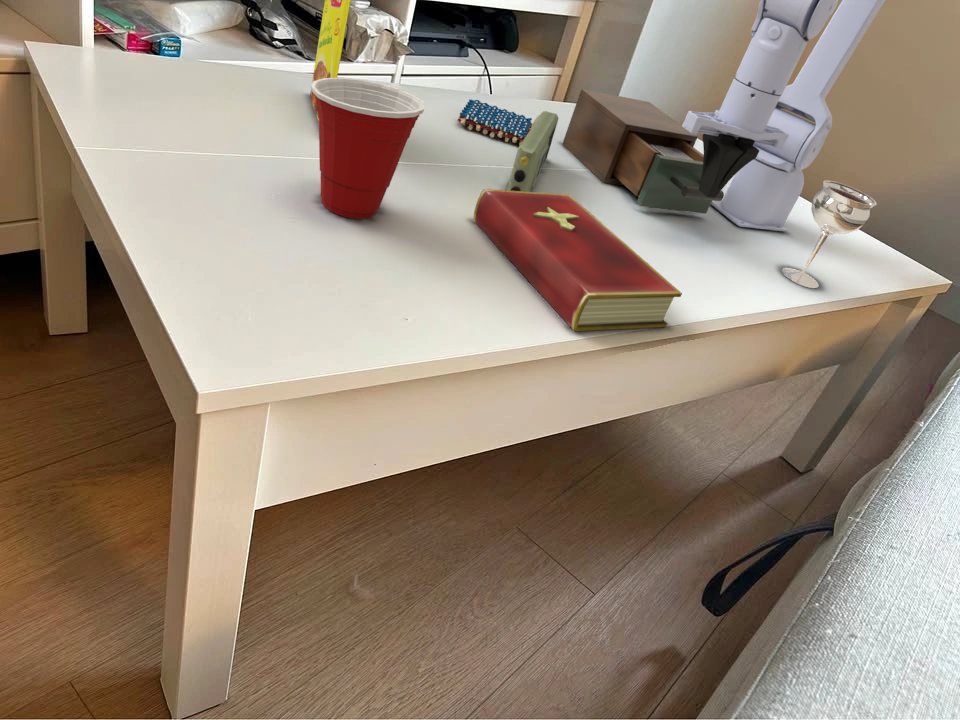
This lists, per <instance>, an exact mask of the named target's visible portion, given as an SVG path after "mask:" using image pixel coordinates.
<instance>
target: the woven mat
mask: <svg viewBox="0 0 960 720" xmlns="http://www.w3.org/2000/svg"><path fill="white" fill-rule="evenodd" d="M532 120H533V118H532V117H527V116H526V115H524V114H520V113H516V112H515V111H510V110H507V109H505V108H502V109H501V107H498V106H497V105H493V104H489V103H487V102H483V101H482V100H480V99H474V100H473V99H471V98H469V99H468V101H467V104H466V103H465V106H463V109H462V110H461V112H459V117H458V119H457V121H458V123H459V124H460V125H462V126H466V125H468V127H467V129H468V131H472V130H473V129H474V127H475V131H477V132H479V131H480V132H481V129H482V134H483V135H487V134H488V132H490V134H489V137H490V138H492V139H493V138H495V135H496V136H497V137H498V138H500V139H502V138H504V143H508V142H509V141H510V139H512V141H511V142H512V143H513V144H517V142H518V141H519V143H518V147H519V146H520V145H521V143H522V142H523V140H524V139H525V137H526V136H527V134H528V133H529V131H530V130H531V127H532V124H533V122H532Z"/></svg>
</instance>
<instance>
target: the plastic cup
mask: <svg viewBox="0 0 960 720" xmlns="http://www.w3.org/2000/svg"><path fill="white" fill-rule="evenodd" d="M312 81H313V80H312ZM311 90H312V92H313V93H314V95H315V99H316V107H317V108H318V118H319V122H318V138H319V139H318V147H319V149H318V151H319V152H318V153H319V155H318V157H319V172H320V198H321V203H322V205H323V207H324V208H325V209H327V210H328V211H329V212H331V213H334V214H336V215H338V216H341V217H344V218H349V219H353V220H365V219H371V218H372V217H374V216H375V215H376V214H377V213H378V210H379V209H380V207H381V204H382V202H383V201H384V197H385V194H386V192H387V190H388V188H389V187H390V185H391V182H392V180H393V177H394V175H395V172H396V170H397V168H398V165H399V162H400V159H401V157H402V155H403V153H404V150H405V147H406V145H407V142H408V139H410V136H411V134H412V131H413V129H414V128H415V125H416V122H417V121H418V120H419V117H420V115H421V114H423V113H424V111H425V106H426V105H425V104H426V103H425V102H424V101H423V100H422V99H420V98H419V97H418V96H417V95H414V94H412V93H410V92H408V91H405V90H403V89H400V88H396V87H393V86H391V85H387V84H384V83H380V82H379V83H378V82H375V81H370V80H364V79H356V78H348V77H347V78H346V77H337V78H323V79H320V80H316V81H313V83H312V82H311V85H310V91H311Z"/></svg>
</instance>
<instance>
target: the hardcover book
mask: <svg viewBox="0 0 960 720" xmlns="http://www.w3.org/2000/svg"><path fill="white" fill-rule="evenodd" d="M473 221H474V223H475V225H477V226H478V227H479V229H480V230H481V231H482V232H483V233H484V234H485V235H486V236H487V237H488V238H489V239H490V241H491V242H492V243H493V244H494V245H495V246H496V248H498V249H499V250H500V251H501V253H502V254H503V255H504V256H505V257H506V258H507V259H508V260H509V261H510V263H511V264H512V265H513V266H514V267H515V268H516V269H517V270H518V271H519V272H520V273H521V275H522V276H523V277H524V278H525V279H526V280H527V281H528V283H530V284H531V285H532V286H533V288H534V289H535V290H536V291H537V292H538V293H539V294H540V295H541V296H542V298H544V300H545V301H546V302H547V303H548V304H549V305H550V306H551V308H553V310H554V311H555V312H556V313H557V314H558V315H559V316H560V317H561V319H562V320H563V321H564V322H565V323H566V324H567V325H568V326H569V327H570V328H571V329H572V331H574V332H586V331H587V332H589V331H604V330H605V331H606V330H607V331H609V330H610V331H611V330H627V329H647V328H666V327H667V325H668V322H667V321H666V320H664V318H665V316H666V314H667V312H668V310H669V308H670V306H671V304H672V303H673V300H674V298H681V297H682V295H683V293H682V292H681V291H680V290H679V289H678V288H677V287H676V286H674V285H673V284H672V283H671V282H670V281H669V280H667V278H665V277H664V276H663V275H662V274H661V273H660V272H659V271H657V270H656V269H655V268H654V267H652V265H650V264H649V262H647V261H646V260H645V259H643V258H642V257H641V256H640V255H639V254H638V253H637V252H635V251H634V249H632V248H631V247H630V246H629V245H628V244H626V243H625V242H624V241H623V240H622V239H621V238H620V237H618V236H617V235H616V234H615V233H614V232H613V231H612V230H611V229H609V227H607V226H606V224H603V222H601V221H600V220H599V219H598V218H597V217H596V216H594V215H593V214H592V213H591V212H590V211H589V210H588V209H586V207H584V205H582V204H581V203H580V202H579V201H577V200H576V198H574V197H573V196H572V195H571V194H565V193H552V192H551V193H549V192H539V191H538V192H537V191H536V192H534V191H530V192H523V191H508V190H507V189H506V190H505V189H492V188H491V189H490V188H483V190H482V191H481V192H480V194H479V196H478V198H477V201H476V203H475V207H474V212H473Z"/></svg>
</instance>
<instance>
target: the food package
mask: <svg viewBox="0 0 960 720" xmlns="http://www.w3.org/2000/svg"><path fill="white" fill-rule="evenodd" d="M351 1H352V0H324V3H323V11H322V17H321V23H320V29H319V35H318V43H317V49H316V55H315V62H314V68H313V73H312V74H313V75H312V82H311V84H312V83H313V81H316V80H320V79H323V78H338V76H339V70H340V64H341V57H342V52H343V47H344V40H345V35H346V31H347V29H346V28H347V24H348V18H349V13H350V6H351ZM309 98H310V101H311V104H312V108H313V110H314V113H315V117H316V119H317V122H318V123H319V118H318V108H317V107H316V99H315V95H314V93H313V92H312V90H311V89H310V92H309Z"/></svg>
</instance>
